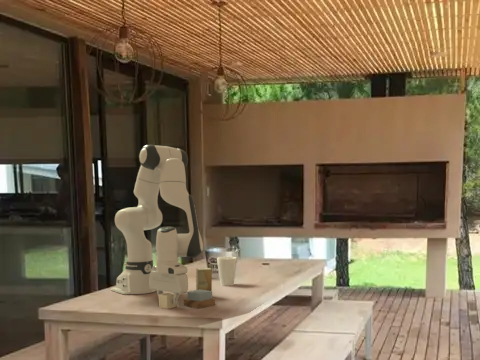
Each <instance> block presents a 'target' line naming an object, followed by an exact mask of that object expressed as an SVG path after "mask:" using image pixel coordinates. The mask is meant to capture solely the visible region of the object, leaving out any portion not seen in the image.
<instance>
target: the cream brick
mask: <svg viewBox="0 0 480 360" xmlns="http://www.w3.org/2000/svg"><path fill="white" fill-rule="evenodd" d="M174 296H175V295H174V294H173V292H166V293H162V294H160V295H159V296H158V308H163V309H165V310H166V309H168V310H169V309H172V308H177V307H178V306H177V305H178V303H177V304H173V303H172V299H174Z"/></svg>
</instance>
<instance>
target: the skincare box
mask: <svg viewBox="0 0 480 360" xmlns="http://www.w3.org/2000/svg"><path fill="white" fill-rule="evenodd" d="M212 270H213V269H212V268H211V267H200V268H199V267H198V268H196V269H195V271H196V272H195V273H196V275H195V277H196V279H195V283H196V284H195V287H196V288H195V290H199V289H201V290H207V291H212V292H213V289H212V288H213V287H212V286H213V285H212V284H213V283H212V282H213V281H212V280H213V278H212V275H213V274H212V273H213V272H212Z"/></svg>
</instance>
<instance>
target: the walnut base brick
mask: <svg viewBox="0 0 480 360" xmlns="http://www.w3.org/2000/svg"><path fill="white" fill-rule="evenodd" d="M215 305H216V298H215V297H214V298H213V297H212V299H209V300H204V301H194V300H188V298H185V299H183V306H184V307H189V308H195V309H203V308H207V307H211V306H215Z"/></svg>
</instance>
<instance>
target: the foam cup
mask: <svg viewBox="0 0 480 360" xmlns="http://www.w3.org/2000/svg"><path fill="white" fill-rule="evenodd" d="M237 262H238V261H237V257H236V256H218V257H217V259H216V263H217V268H218V275H219V281H220V286H222V287H230V286H234V285H235V276H236V269H237V268H236V267H237Z"/></svg>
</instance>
